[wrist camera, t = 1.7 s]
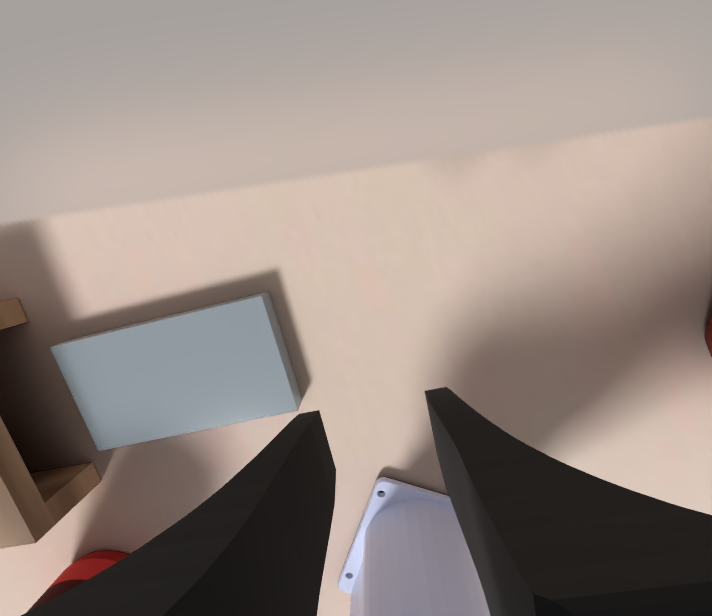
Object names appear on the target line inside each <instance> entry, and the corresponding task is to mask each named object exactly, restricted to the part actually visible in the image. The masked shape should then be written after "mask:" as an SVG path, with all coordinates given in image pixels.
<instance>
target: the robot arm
mask: <svg viewBox="0 0 712 616" xmlns="http://www.w3.org/2000/svg"><path fill="white" fill-rule="evenodd" d="M425 395H426V400H427V405H428V410H429V415H430V420H431V425H432V430H433V435H434V440H435V445H436V450H437V455H438V459H439V463H440V467H441V471H442V474H443V478H444V482H445V486H446V489H447V492H448V495H449V496H446V495H443V494H440V493H436V492H433V491H430V490H426V489H423V488H420V487H416V486H413V485H410V484H406V483H403V482H400V481H396V480H393V479H390V478H386V477H381V478H379V479H377V481H376V483H375V485H374V488H373V491H372V493H371V496H370V499H369V501H368V504H367V506H366V509H365V512H364V514H363V517H362V519H361V522H360V525H359V527H358V530H357V533H356V535H355V538H354V540H353V543H352V546H351V548H350V551H349V554H348V556H347V559H346V561H345V564H344V567H343V569H342V572H341V575H340V577H339V581H338V587H339V589H340V590H342V591H344V592H347V593H351V604H350V616H712V515H709V514H705V513H702V512H698V511H694V510H691V509H687V508H683V507H680V506H677V505H674V504H670V503H667V502H664V501H661V500H658V499H655V498H652V497H650V496H647V495H644V494H641V493H638V492H635V491H632V490H629V489H626V488H623V487H621V486H618V485H615V484H613V483H610V482H607V481H605V480H602V479H600V478H597V477H595V476H592V475H590V474H588V473H585V472H583V471H580V470H578V469H576V468H573V467H571V466H569V465H566V464H564V463H562V462H560V461H558V460H556V459H554V458H551V457H550V456H548V455H546V454H544V453H542V452H540V451H538V450H536V449H534V448H532V447H530V446H528V445H526V444H525V443H523V442H521V441H519V440H518V439H516V438H514V437H513V436H511V435H509V434H508V433H506V432H505V431H503V430H502V429H500V428H499V427H497V426H496V425H494V424H493V423H491V422H490V421H489V420H487V419H486V418H485V417H483V416H482V415H480V414H479V413H478V412H476V411H475V410H474V409H473V408H471V407H470V406H469V405H468V404H466V403H465V402H464V401H463V400H462V399H460V398H459V397H458V396H457V395H456V394H455V393H453V392H452V391H451V390H450V389H448V388H447V387H444V388H438V389H433V390H428V391H425ZM335 482H336V468H335V465H334V461H333V458H332V454H331V451H330V447H329V444H328V440H327V436H326V433H325V429H324V426H323V422H322V419H321V415H320V412H319V410H318V411H313V412H307V413H302V414H299V415H297V416H296V417H295V418H294V419H293V420H292V421H291V422H290V423H289V424H288V425H287V426H286V427H285V428H284V429H283V430H282V431H281V432H280V433H279V434H278V435H277V436H276V437H275V438H274V439H273V440H272V441H271V442H270V443H269V444H268V445H267V446H266V447H265V448H264V449H263V450H262V451H261V452H260V453H259V454H258V455H257V456H256V457H255V458H254V459H253V460H251V461H250V462H249V463H248V464H247V465H246V466H245V467H244V468H243V469H242V470H241V471H240V472H238V473H237V474H236V475H235V476H234V477H233V478H232V479H231V480H230V481H229V482H228V483H226V484H225V485H224V486H223V487H222V488H221V489H219V490H218V491H217V492H216V493H215V494H213V495H212V496H211V497H210V498H208V499H207V500H206V501H205V502H203V503H202V504H201V505H200V506H198V507H197V508H196V509H194V510H193V511H192V512H191V513H189V514H188V515H187V516H185V517H184V518H182V519H181V520H180V521H178V522H177V523H175V524H174V525H172V526H171V527H169V528H168V529H167V530H165V531H164V532H162V533H161V534H159V535H158V536H156V537H155V538H153V539H152V540H151V541H149V542H148V543H146V544H145V545H143V546H142V547H140V548H139V549H137V550H136V551H134V552H132V553H131V554H129V555H128V556H126V557H124V558H123V559H121V560H120V561H118V562H116V563H115V564H113V565H112V566H110V567H108V568H107V569H105V570H103V571H101V572H100V573H98V574H96V575H95V576H93V577H91V578H90V579H88V580H86V581H84V582H83V583H81V584H79V585H77V586H76V587H74V588H72V589H70V590H69V591H67V592H65V593H63V594H61V595H59V596H57V597H56V598H54V599H52V600H50V601H48V602H46V603H44V604H42V605H40V606H39V607H37V608H35V609H33V610H31V611H29V612H27V613H25V614H23V615H21V616H317V609H318V601H319V594H320V587H321V581H322V576H323V570H324V564H325V558H326V552H327V546H328V540H329V535H330V529H331V522H332V516H333V510H334V503H335ZM378 491H384V492H383V493H379V492H378Z"/></svg>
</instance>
